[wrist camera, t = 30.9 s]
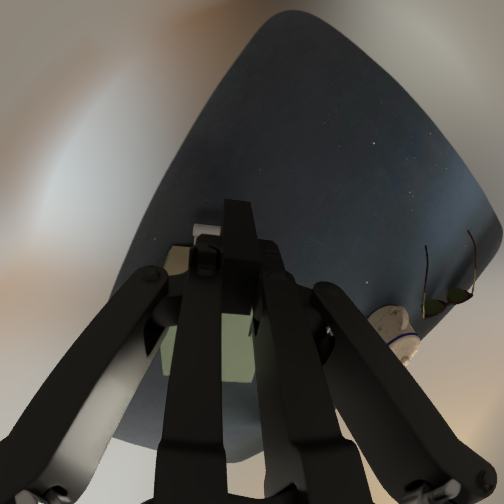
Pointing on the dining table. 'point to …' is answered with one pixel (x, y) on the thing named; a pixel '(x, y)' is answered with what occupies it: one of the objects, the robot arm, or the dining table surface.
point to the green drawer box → (223, 347)
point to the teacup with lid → (396, 331)
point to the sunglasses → (453, 296)
